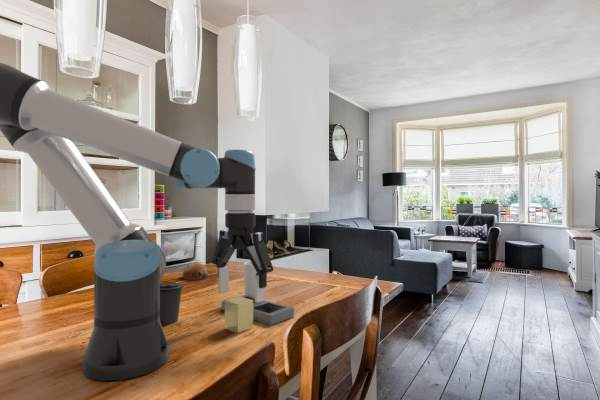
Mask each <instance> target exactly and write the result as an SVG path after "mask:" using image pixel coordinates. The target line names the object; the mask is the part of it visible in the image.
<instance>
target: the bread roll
mask: <svg viewBox="0 0 600 400" xmlns="http://www.w3.org/2000/svg"><path fill="white" fill-rule="evenodd" d="M208 276H209V270H208V268H207V266H206V265H204V264H202V263H201V262H192V263H190V264H189V263H188V265H186V267H185V268H184V269H183V271H182V278H183V280H188V281H201V280H206V279H207V278H208Z"/></svg>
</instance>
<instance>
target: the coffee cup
mask: <svg viewBox="0 0 600 400" xmlns="http://www.w3.org/2000/svg"><path fill="white" fill-rule="evenodd" d="M182 289H184V285H183V283H179V282H175V281H167V282H166V281H165V282H160V323H161V326H167V325H173V324H176V323H177V322H178V321H179V315H180V306H181V298H182Z"/></svg>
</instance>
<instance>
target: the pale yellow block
mask: <svg viewBox="0 0 600 400" xmlns="http://www.w3.org/2000/svg"><path fill="white" fill-rule="evenodd" d="M236 297H237V298H236ZM236 297H233V299H232V298H228V299H229V300H228V299H226V301H225V300H224V301H225V311H224V329H225V330H228V331H230V332H233V333H236V334H240V333H243V332H246V331H248V330H251V329H254V320H253V300H251V299H247V298H243V297H240V296H236Z"/></svg>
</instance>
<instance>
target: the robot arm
mask: <svg viewBox="0 0 600 400" xmlns="http://www.w3.org/2000/svg"><path fill="white" fill-rule="evenodd" d="M0 132H1V134H2V135H3V136H4V138H5V139H6V140H7V142H9V144H10V145H11V146H12V148H13V149H14V150H15V151H17V152H21V153H26V154H27V155H28V156H29V157H30V158H31V160H32V161H33V162H34V164H35V165H36V166H37V168H38V169H39V170H40V172H41V173H42V174H43V176H44V177H45V178H46V180H47V181H48V183H49V184H50V185H51V187H52V188H53V189H54V190H55V192H56V194H57V195H58V196H59V197H60V198H61V200H62V201H63V202H64V203H65V206H67V208H68V209H69V211H70V212H71V213H72V215H73V216H74V217H75V219H76V220H77V221H78V222H79V224H80V226H81V227H82V229H84V231H85V232H86V234H87V235H88V236H89V238H90V239H91V240H92V241H93V244H94V245H95V249H94V253H93V256H94V262H93V270H94V271H93V272H94V274H93V275H94V279H93V280H94V281H93V282H94V284H93V286H94V287H93V291H94V293H93V301H94V303H93V330H92V332H91V336H90V338H89V341H88V344H87V346H86V349H85V352H84V354H83V357H82V373H83V375H84V376H85V377H86V378H88V379H91V380H94V381H101V382H102V381H104V382H113V381H112V380H117V381H125V380H130V379H133V377H135V378H137V376H138V377H140V376H141V375H142V376H144V374H145V375H147V374H149V372H150V373H151V371H152V372H154V371H156V370H158V369H159V368H161V367H162V366H164V365H165V363H167V362H168V359H169V343H168V340H167V336H166V335H165V332H164V329H163V325H161V323H160V283H161V280H162V278H163V276H164V273H165V272H166V266H167V259H166V254H165V251H164V250H163V248H162V247H161V246H160V245H159V244H158V243H157V242H155V241H154V240H153V239H152V238H151V237H150V235H149V234H148V232H147V231H146V230H145V228H144V227H143V226H142V225H140V224H135V223H132V222H131V220H130V219H129V218H128V216H127V215H126V214H125V212H124V211H123V210H122V208H121V207H120V205H119V204H118V202H117V201H116V199H115V198H114V197H113V196H112V194H111V193H110V192H109V190H108V189H107V187H106V186H105V185H104V183H103V181H102V180H101V179H100V177H99V175H98V174H97V173H96V172H95V171H94V169H93V168H92V166H91V165H90V163H89V162H88V161H87V159H86V157H84V155H83V154H82V152H81V151H80V150H79V148H78V147H77V146H76V144H75V143H77V144H80V145H81V146H82V145H83V146H85V147H87V148H90V149H92V150H96V151H98V152H102V153H104V154H106V155H110V156H113V157H115V158H118V159H121V160H123V161H126V162H129V163H131V164H135V165H137V166H140V167H142V168H145V169H148V170H150V171H154V172H156V173H159V174H162V175H165V176H168V177H169V178H172V179H173V181H174V183H173V184H174V186H175V188H178V189H187V190H191V189H224V211H226V213H225V214H224V215H225V216H224V219H225V220H224V221H225V222H224V224H225V226H224V227H225V228H226V229H221V230H219V235H218V236H219V237H218V240H217V244H216V247H215V250H214V253H213V257H212V260H211V263H212V264H213V265H216V267H217V279H218V293H219V294H223V293H226V292H227V293H228V292H229V291H230V290H229V288H230V287H229V284H230V283H229V282H230V281H229V279H230V277H229V271H230V270H229V265H228V262H229V261H230V259H231V258H232V256H233V254H234V252H235V251H236V250H240V251H243V252H244V253H246V255H247V257H248V258H249V262H252V264H253V266H254V268H255V270H256V272H257V273H256V274H255V302H260V301H264V300H265V301H266V288H267V283H268V282H267V280H268V279H267V278H268V276H267V275H268V273H272V272H274V265H273V262H272V260H271V258H270V254H269V251H268V249H267V247H266V244H265V240H264V239H265V238H264V233H263V232H262V231H260V232H254V228H255V227H256V223H257V222H256V214H255V212H254V211H255V210H256V161H255V154H254V152H253V151H251V150H247V149H228V150H226V151H225V152H224V156H223V157H217V156H216V154H214V153H213V152H212V151H210V150H208V149H207V148H203V147H202V148H201V147H200V148H199V147H195V146H192V145H189V144H186V143H184V142H182V141H180V140H178V139H174V138H172V137H169V136H167V135H165V134H162V133H159V132H158V131H154V130H152V129H149V128H147V127H145V126H142V125H139V124H137V123H134V122H132V121H129V120H127V119H124V118H121V117H119V116H116V115H114V114H112V113H109V112H107V111H103V110H101V109H99V108H96V107H94V106H91V105H89V104H86V103H85V102H81V101H79V100H76V99H74V98H71V97H69V96H67V95H63V94H61V93H59V92H56V91H55V90H52V89H51V87H50V86H49V84H48V83H47V82H46V81H43V80H41V79H39V78H37V77H34V76H32V75H29V74H28V73H25V72H23V71H21V70H19V69H17V68H16V67H13V66H11V65H9V64H7V63H6V64H5V63H3V62H0ZM157 368H158V369H157ZM129 378H130V379H129ZM124 379H125V380H124ZM106 380H107V381H106ZM109 380H111V381H109Z"/></svg>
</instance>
